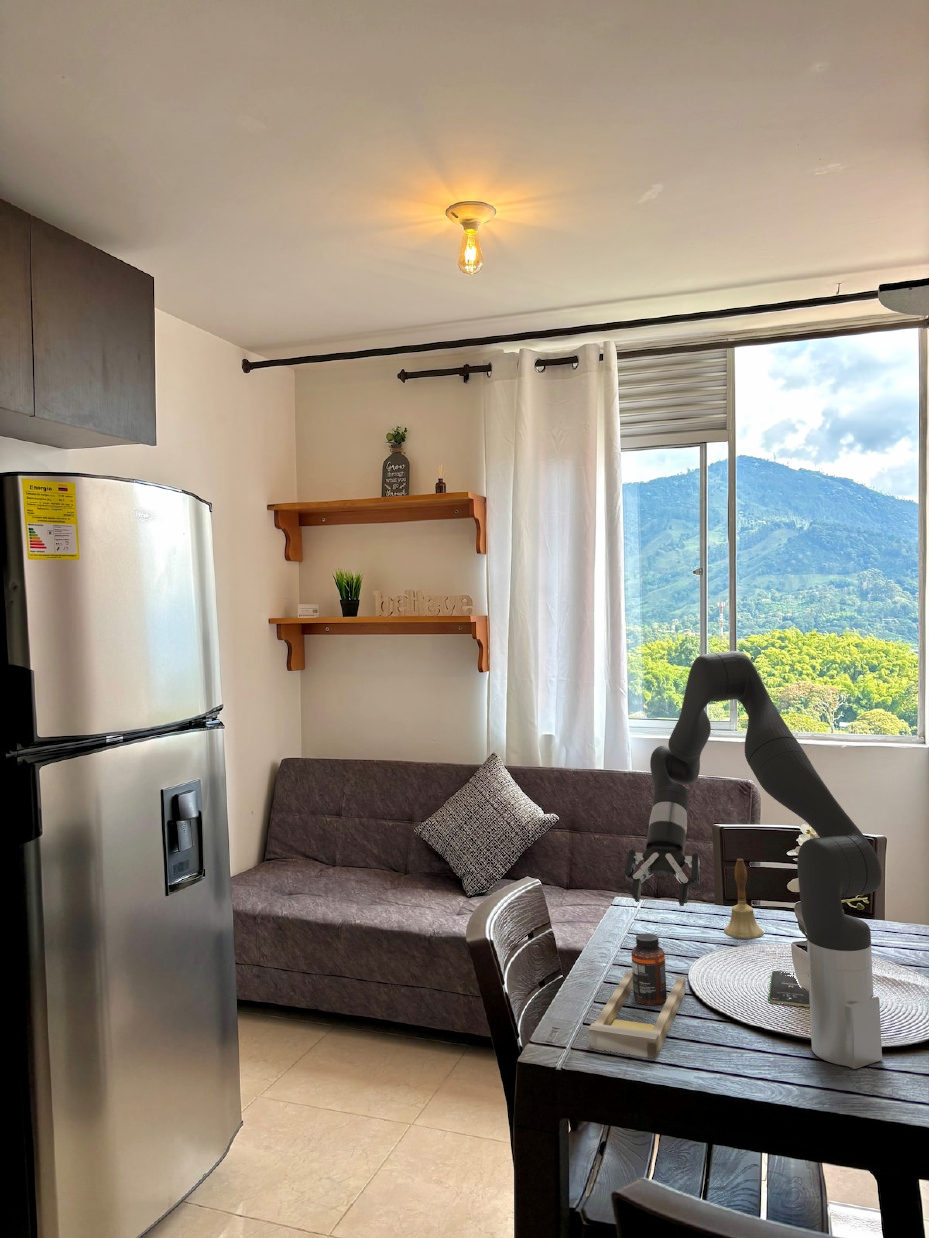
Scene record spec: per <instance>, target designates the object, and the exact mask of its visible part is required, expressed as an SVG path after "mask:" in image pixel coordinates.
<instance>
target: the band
mask: <svg viewBox="0 0 929 1238" xmlns="http://www.w3.org/2000/svg"><path fill="white" fill-rule="evenodd" d="M611 1026H616V1027H623V1028H630V1029H637V1030H643V1031H650V1032H652V1030H653V1028H654V1026H655V1024H651V1023H644V1022H638V1021H637V1022H636V1021H629V1020H622V1019H617V1018H615V1019H614V1021H613V1023H612V1024H611Z"/></svg>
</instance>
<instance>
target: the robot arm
mask: <svg viewBox="0 0 929 1238" xmlns="http://www.w3.org/2000/svg"><path fill="white" fill-rule="evenodd" d="M684 691H685V692H684V694H683V695H684V696H683V699H682V700H683V702H682V704H681V710H680V714H679V717H678V719H677V722H676V724H675V727H674V728H673V730H672V732H671V735H670V737H669V739H668V746H667V745H660V746H658V747H656V748H655V749H654V750H653V752H652V753H651V756H650V759H649V761H650V762H649V763H650V764H649V765H650V766H649V767H650V773H651V778H652V781H653V782H652V783H653V790H654V793H653V794H654V795H653V802H652V803H653V804H652V810H651V813H650V817H649V823H648V831H647V837H646V843H645V850H644V851H643V852H636V850H635V849H630V850H629V851H628V855H627V859H626V863H625V868H624V876H625V879H626V881H627V883H632V886H631V892H630V893H631V897H632V898H633V900H634V901H635V902H636V903H640V900H641V893H642V884H643V883H644V882H645V881H646V880H648V879H650V878H651V877H652V876H653V875H654V876H655V877H661V876H662V877H663V876H664V877H665V878H666V877H667V878H671V877H672V876H674V877H675V878H676V880H677V881H678V882H679V883H680V884H679V890H678V891H679V893H678V903H679V906H680V907H684V906H685V904H687V903H688V901H689V899H688V898H689V891H690V888H693V887H694V888H698V887H700V872H701V869H700V868H701V861H700V858H699V854H698V853H692V855H685V849H686V847H685V846H686V837H687V833H688V831H687V830H688V827H687V826H688V818H687V817H688V806H689V805H688V804H689V792H688V789H687V788H686V787H685V786H683V785H690V784H693V783H695V781H697V780H698V778H699V775H700V770H701V760H700V759H701V755H702V752H703V750H704V748H705V746H706V744H707V743H708V741H709V738H710V736H711V728H712V727H711V720H710V718H709V716H708V713H706V710H705V708H706V707H707V705H708V704H709V703H711V702H713V703H715V702H723V701H733V700H736V701H739V703H740V704H741V705H742V707H743V708H744V710H745V712H746V715H747V717H748V724H747V729H746V735H745V739H744V756H745V760H746V762H747V764H748V765H749V767H750V769H751V771H752V772H753V775H754V776H755V778H756V779H757V781H758V783H759V785H760V786H761V788H762V789H763V790H764V792H766V793H767V794H768V795H769V796H770V797H771V798H773V800H775V801H777V802H778V803H779V804H780V805H782V806H783V807H785V808H787V809H788V810H789V811H791V812H792V813H794V814H795V815H796V816H798V817H799V818H801V819H802V820H803V821H804V822H805V823H807V824H808V825H809V826H810V827H811V828H812V830H813V831H814V832H815V833H816V835H817V836H818V837H815V838H810V839H807V840H805V841H803V842H802V844H801V846H800V847H799V850H798V854H797V861H796V863H797V865H796V866H797V878H798V879H797V880H798V889H799V899H800V909H801V910H800V911H801V916H802V919H803V922H804V926H805V930H806V931H805V932H806V946H807V947H806V949H807V953H806V954H807V974H808V977H809V1000H810V1008H809V1017H810V1018H809V1020H810V1038H811V1050H812V1053H813V1054H815V1056H817V1057H818V1058H819V1059H822V1060H824V1061H826V1062H829V1063H832V1064H835V1065H841V1066H845V1067H848V1068H850V1069H853V1070H856V1069H857V1070H858V1069H860V1068H863V1067H865V1066H868V1065H871V1064H874V1063H878V1062H879V1061H882V1060H883V1052H882V1051H883V1050H882V1049H883V1047H882V1028H881V1027H882V1026H881V1025H882V1024H881V1009H880V1008H881V1006H880V1005H881V1003H880V997H879V996H877V995H875V994H874V982H873V980H874V979H873V976H874V975H873V958H872V957H873V955H872V954H873V953H872V936H871V935H872V934H871V933H872V932H871V928H870V926H869V925H868V923H866V922H865V921H864V920H862V919H860V918H858V917H855V916H852V915H848V914H845V912H844V909H843V902H842V898H851V897H857V896H862V895H863V896H865V895H868V894H871V893H874V892H875V891H877V890H878V889H879V887H880V886H881V882H882V875H883V874H882V866H881V863H880V861H879V860H880V859H879V857H878V855H877V853H876V851H875V849H874V847H873V846H872V845H871V843H870V842H869V840H868V839H867V838H866V836H865V834H863V832H862V831H861V830H860V829H859V828H858V826H857V825H856V824H855V822H854V821H853V819H851V817H850V816H849V815H848V814H847V813H846V812H845V810H844V809H843V808H842V806H841V805H840V803H838V801H837V800H836V799H835V797H834V795H833V794H832V792H831V791H830V790H829V788H828V787H827V785H826V783H824V781H823V780H822V778H821V776H820V775H819V774H818V772H817V770H816V769H815V768H814V766H813V764H812V762H811V760H810V759H809V757H808V756H807V753H806V752H805V750H804V749H803V747H802V746H801V745H800V743H799V742H798V740H797V738H796V737H795V736H794V734H793V733H792V731H791V730H790V728H789V727H788V725H787V724H786V722H785V720H784V719H783V717H782V716H781V714H780V713H779V710H778V709H777V707H776V706H775V704H774V702H773V701H772V699H771V696H770V694H769V693H768V690H767V689H766V687H765V684H764V682H763V680H762V678H761V677H760V674H759V673H758V671H757V669H756V667H755V664H754V663H753V662H752V660H751V659H750V657H749V656H747V654H745V653H744V652H742V651H739V650H738V651H737V650H729V651H722V652H711V653H704V654H701V655H699V656H698V657H696V658H695V659H694V661H693V663H692V665H691V667H690V670H689V674H688V678H687V682H686V686H685V690H684ZM642 860H643V863H642V864H641V866H640V867H639V869H638V870H637V871H636V865H639V863H640V861H642ZM686 863H687V864H688V867H689V868H691V876H690V877H687V876H686V874H685V873H684V872H683V870H682V868H683V867H684V865H685V864H686ZM635 871H636V872H635Z"/></svg>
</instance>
